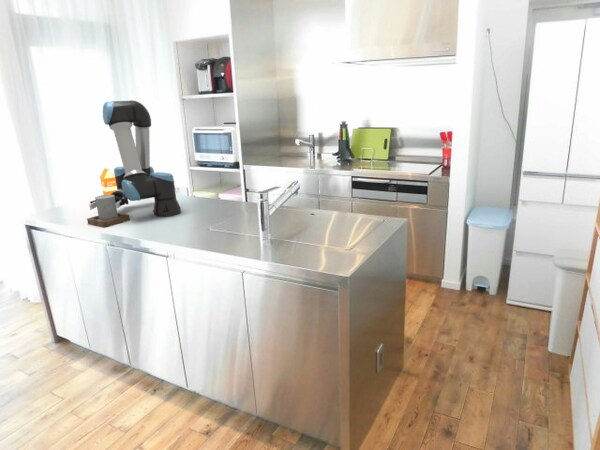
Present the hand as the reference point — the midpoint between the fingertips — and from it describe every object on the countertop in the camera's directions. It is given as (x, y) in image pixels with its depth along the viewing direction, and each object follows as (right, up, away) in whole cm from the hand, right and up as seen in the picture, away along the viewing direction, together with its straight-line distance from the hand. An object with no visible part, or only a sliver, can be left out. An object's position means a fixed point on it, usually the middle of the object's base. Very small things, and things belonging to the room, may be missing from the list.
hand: (103, 206), depth 218 cm
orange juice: (-23, +8, +61) cm, 66 cm away
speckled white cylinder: (0, -7, +6) cm, 9 cm away
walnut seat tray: (0, -8, +6) cm, 10 cm away
